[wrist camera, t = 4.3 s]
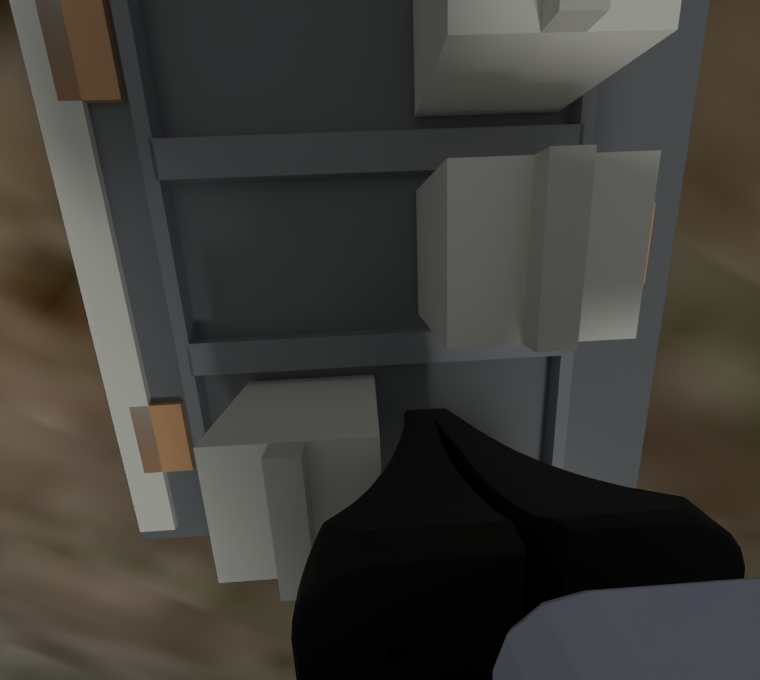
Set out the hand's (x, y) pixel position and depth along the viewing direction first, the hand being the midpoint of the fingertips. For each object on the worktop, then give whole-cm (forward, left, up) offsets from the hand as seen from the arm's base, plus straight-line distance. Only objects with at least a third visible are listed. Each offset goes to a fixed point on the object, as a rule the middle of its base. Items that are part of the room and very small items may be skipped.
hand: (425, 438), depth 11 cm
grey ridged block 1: (0, +4, -1) cm, 4 cm away
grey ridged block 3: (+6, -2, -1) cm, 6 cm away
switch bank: (+6, +1, -2) cm, 6 cm away
